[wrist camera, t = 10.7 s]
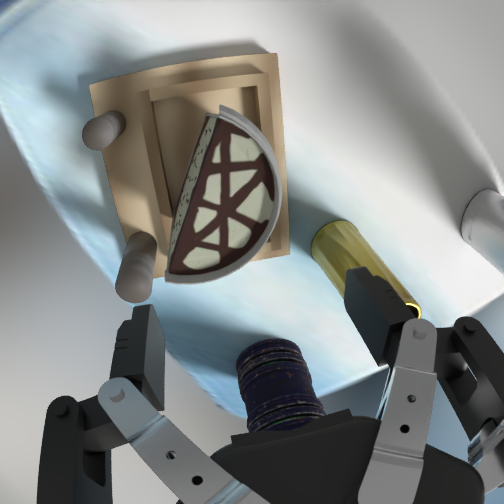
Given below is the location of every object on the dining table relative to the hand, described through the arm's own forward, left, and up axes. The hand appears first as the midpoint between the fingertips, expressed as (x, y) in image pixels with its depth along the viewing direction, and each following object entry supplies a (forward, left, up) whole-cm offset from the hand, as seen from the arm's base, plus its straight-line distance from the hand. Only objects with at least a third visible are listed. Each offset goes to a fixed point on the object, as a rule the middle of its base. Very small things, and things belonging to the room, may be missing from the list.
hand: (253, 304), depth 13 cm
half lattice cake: (0, 0, -18) cm, 18 cm away
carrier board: (+2, 0, -20) cm, 20 cm away
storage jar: (-3, +29, -20) cm, 35 cm away
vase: (-12, +11, -20) cm, 26 cm away
